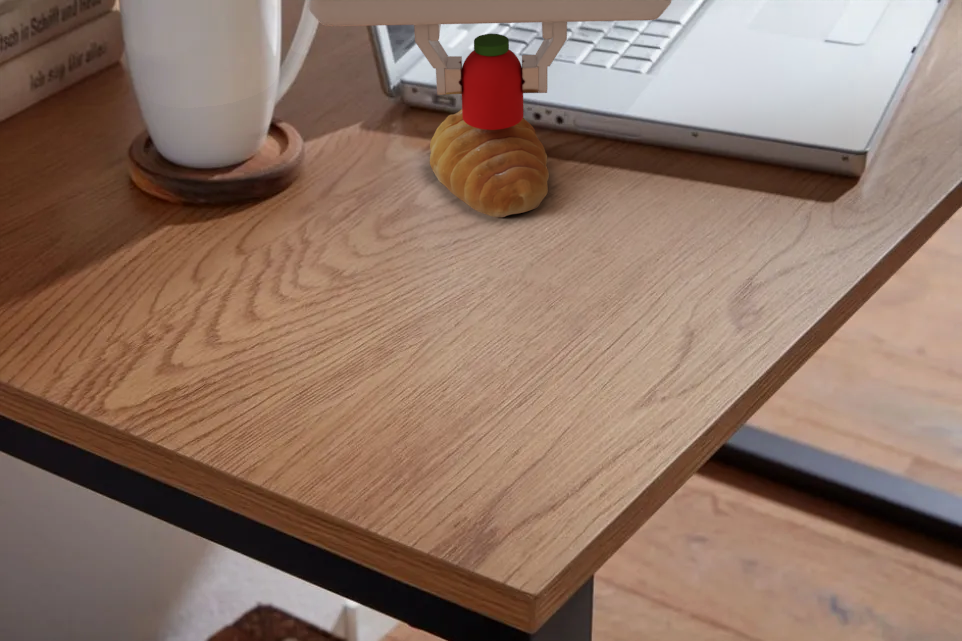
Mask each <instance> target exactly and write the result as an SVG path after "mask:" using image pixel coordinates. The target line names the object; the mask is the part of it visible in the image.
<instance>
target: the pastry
mask: <svg viewBox="0 0 962 641" xmlns="http://www.w3.org/2000/svg"><path fill="white" fill-rule="evenodd" d="M429 149H430V154H429V165H430V168H431V170H432V172H433V174H434V175H435V178H436V179H437V181H438V182H439V183H440V184H442V185H443V186H444V187H445V188H447V190H448V191H449V192H450V194H452V195H454V196H455V197H456V198H458V199H459V200H461V201H462V202H463V203H465V204H466V205H467V206H469V207H470V208H471V209H473V210H475V211H476V212H478V213H481V214H484V215H487V216H489V217H491V218H497V219H499V218H505V217H507V216H511V215H517V214H521V213H526V212H529V211H532V210H535V209H537V208H538V207H539V206H540V205H541V203H542V201H543V200H544V199H545V197H546V196H547V194H548V191H549V190H548V189H549V188H548V181H549V177H550V174H549V173H550V172H549V169H548V168H547V163H548V155H547V153H546V150H545V146H544V145H543V143H542V142H541V141H540V139H539V138H538V136H537V134H536V129H535V128H534V127H533V125H532V124H530V122H528V121H527V120H526V119H525V118H524V117H523V119H522V120H521V121H520V122H519V123H518V124H516V125H514V126H512V127H509V128H505V129H497V130H486V129H479V128H475V127H472V126H470V125H468V124H467V123H465V122H464V120H463V116H462V108H461V109H460V110H459V111H458V112H456V113H453V114H449V115H447V117H445V119H444V120H443V121H441V123H440V124H439V125H438V127H437V128H436V130H435V132H434V134H433V136H432V138H431V139H430V143H429Z"/></svg>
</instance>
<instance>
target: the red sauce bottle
mask: <svg viewBox="0 0 962 641" xmlns="http://www.w3.org/2000/svg"><path fill="white" fill-rule="evenodd" d="M522 81H523V78H522V62H521V61H520V59H519V58H518V56H517V54H516V53H515V52H513V51H512V50H511V49H510V40H509V38H508V36H506V35H504V34H499V33H484V34H481V35H478V36H476V37H475V38H474V40H473V50H472V51H471V52H470V53H469V54H468V55H467V56H466V57H465V60H464V61H463V62H462V78H461V82H462V94H461V109H462V116H463V120H464V122H465V123H467V124H468V125H470V126H472V127H475V128H479V129H486V130H497V129H505V128H509V127H512V126H514V125H516V124H518V123H519V122H520V121H521V120H522V119H523V118H524V93H522Z"/></svg>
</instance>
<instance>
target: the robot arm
mask: <svg viewBox="0 0 962 641" xmlns="http://www.w3.org/2000/svg"><path fill="white" fill-rule="evenodd" d="M672 1H673V0H306V2H307V4H306V5H307V8H308V12H310V14H311V15H312V16H313V18H315V20H316V21H318V22H319V23H320V24H321V25H322V26H323V27H365V26H366V27H367V26H368V27H369V26H370V27H372V26H374V27H375V26H376V27H377V26H413V31H414V43H415V44H416V45H417V47H418V49H419V50H420V51H421V53H422V54H423V56H424V57H425V59H426V60H427V62H428V63H429V64H430V66H431V67H432V69H435V81H436V94H437V96H446V95H448V96H449V95H462V82H461V78H462V66H463V56H460V55H459V56H458V55H454V56H453V55H450V56H449V55H448V53H447V51H446V49H445V48H444V47H443V45H442V43H441V42H440V41H439V40H440V35H441V26H442V25H470V24H472V25H474V24H476V25H477V24H525V23H529V24H530V23H541V34H542V35H541V36H542V39H543V40H542V42H541V44H540V45H539V47H538V49H537V50H536V52H535V54H522V55H521V66H522V78H523V81H522V93H523V94H547V93H548V67H551V65H552V64H553V62H554V60H555V59H556V58H557V55H558V54H559V52H560V51H561V49H562V48H563V46H564V45H565V43H566V41H567V40H568V23H575V22H579V23H581V22H582V23H583V22H584V23H585V22H633V21H636V22H638V21H656V20H658V19H659V18H660V17H661V16H662V15H663V14H664V12H666V10H668V8H669V7H670V6H671V4H672Z"/></svg>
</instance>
